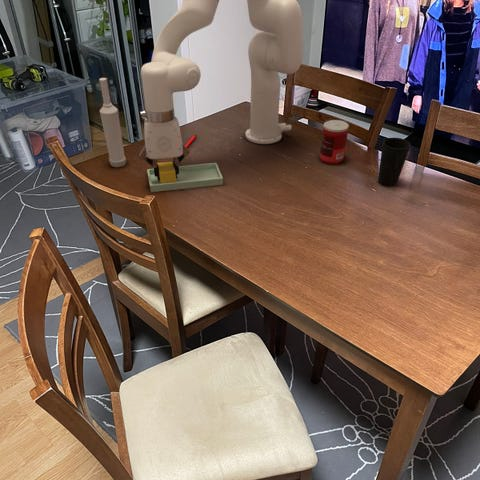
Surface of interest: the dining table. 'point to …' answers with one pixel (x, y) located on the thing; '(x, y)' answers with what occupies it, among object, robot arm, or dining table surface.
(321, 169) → the dining table surface
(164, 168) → the sponge
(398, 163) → the cup
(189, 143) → the pen
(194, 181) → the tray
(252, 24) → the robot arm
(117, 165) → the bottle
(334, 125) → the canned food
